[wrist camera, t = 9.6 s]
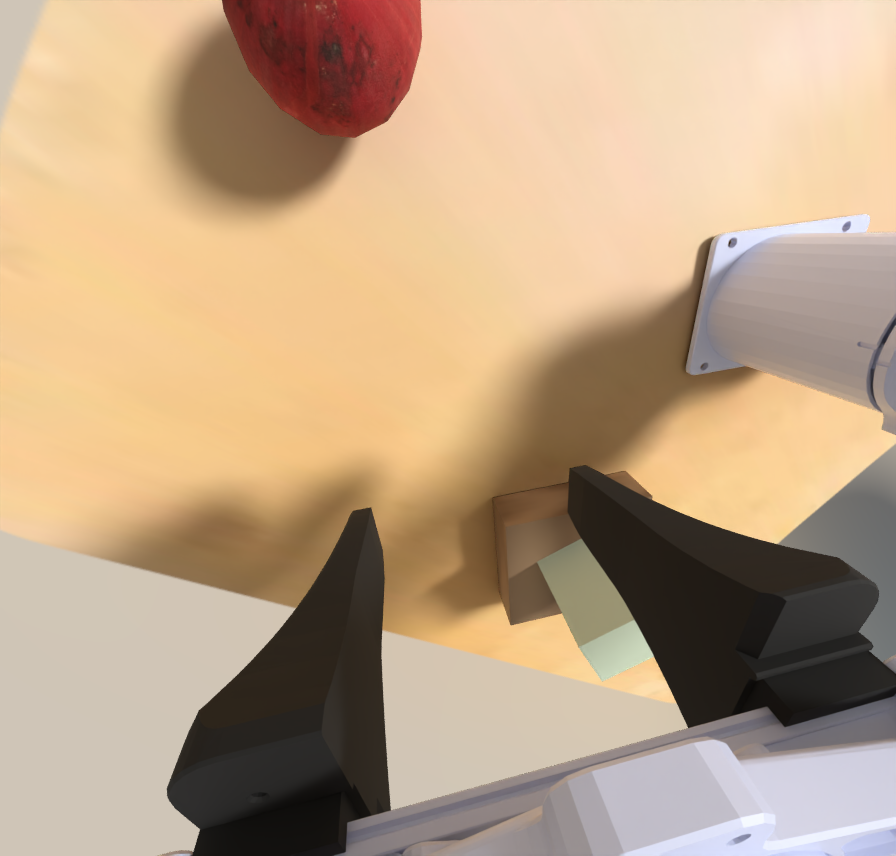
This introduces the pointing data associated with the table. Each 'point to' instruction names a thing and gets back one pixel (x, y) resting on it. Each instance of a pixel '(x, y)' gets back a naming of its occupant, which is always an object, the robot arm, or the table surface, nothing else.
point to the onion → (330, 57)
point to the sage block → (594, 611)
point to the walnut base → (535, 545)
